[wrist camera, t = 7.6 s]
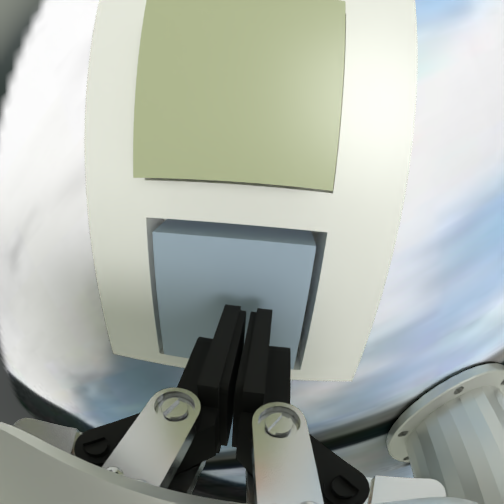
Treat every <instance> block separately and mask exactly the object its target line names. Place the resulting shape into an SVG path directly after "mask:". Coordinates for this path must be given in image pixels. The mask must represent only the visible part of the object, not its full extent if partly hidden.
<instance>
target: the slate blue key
mask: <svg viewBox="0 0 504 504" xmlns="http://www.w3.org/2000/svg"><path fill="white" fill-rule="evenodd" d="M152 235H153V252H154V266H155V279H156V290H157V300H158V310H159V319H160V327H161V335H162V342H163V349H164V354H166V355H172V356H178V357H184V358H190V355H191V353H192V350H193V348H194V346H195V343H196V341H197V339H198V337H205V338H212V339H213V337H214V335H215V332H216V329H217V326H218V323H219V320H220V318H221V315H222V312H223V309H224V306H225V304H227V305H235V306H241V310H243V311H246V324H245V338H246V333H247V328H248V323H249V318H250V313H251V311H252V312H257V308H262V309H271V310H273V311H272V322H271V333H270V344H269V346H277V347H288V348H290V349H291V369H294V364H295V360H296V355H297V350H298V345H299V340H300V336H301V330H302V325H303V320H304V315H305V310H306V304H307V299H308V293H309V287H310V282H311V276H312V270H313V264H314V257H315V251H316V244H315V241H314V238H313V235H312V232H311V231H309V230H298V229H288V228H277V227H266V226H255V225H243V224H231V223H218V222H205V221H192V220H178V219H166V220H165V221H164V222H163V223H162V224H161V225H160V226H158V227H157V228H156V229H155V230H154V231H153V232H152ZM245 338H244V342H245Z"/></svg>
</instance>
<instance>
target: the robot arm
mask: <svg viewBox="0 0 504 504" xmlns="http://www.w3.org/2000/svg"><path fill="white" fill-rule="evenodd" d="M272 311H273V310H271V309H262V308H257V312H252V311H251V313H250V318H249V323H248V328H247V333H246V338H245V324H246V311H243V310H241V306H235V305H227V304H225V306H224V309H223V312H222V315H221V318H220V320H219V323H218V326H217V329H216V332H215V335H214V337H213V339H212V338H205V337H198V339H197V341H196V343H195V346H194V348H193V350H192V353H191V355H190V358H189V360H188V362H187V365H186V367H185V370H184V372H183V374H182V377H181V379H180V382H179V384H178V386H177V388H167V389H163V390H161V391H159V392H157V393H156V394H155V395H154V396H153V397H152V398H151V399H150V400H149V402H148V403H147V405H146V406H145V407H144V409H143V410H142V412H141V413H139V414H136V415H133V416H130V417H127V418H124V419H121V420H119V421H116V422H113V423H109V424H106V425H103V426H100V427H97V428H94V429H90V430H88V431H86V432H84V433H81V432H79V431H78V429H75V428H70V427H65V426H60V425H56V424H52V423H47V422H43V421H39V420H36V419H32V418H23V419H20V420H19V421H17V422H16V423H15V424H14V426H11V425H8V424H5V423H2V422H0V504H245V503H237V502H229V501H223V500H216V499H211V498H205V497H200V496H195V495H191V493H192V491H193V489H194V487H195V485H196V483H197V480H198V478H199V476H200V474H201V472H202V470H203V468H204V465H205V461H206V460H207V459H210V458H211V457H213V456H215V455H216V453H219V452H220V447H221V445H224V446H227V444H228V439H229V434H230V429H231V424H232V419H233V434H232V447H237V451H236V459H237V460H238V461H239V462H240V463H241V464H242V465H243V466H244V467H245V468H246V493H247V504H504V365H502V364H498V363H490V364H484V365H480V366H476V367H473V368H471V369H468V370H465V371H463V372H461V373H459V374H457V375H455V376H453V377H451V378H449V379H448V380H446V381H444V382H443V383H441V384H439V385H438V386H436V387H435V388H433V389H432V390H430V391H429V392H427V393H426V394H424V395H423V396H422V397H421V398H419V399H418V400H417V401H416V402H414V403H413V404H412V405H411V406H410V407H409V408H408V409H407V410H406V411H405V412H404V413H402V415H401V416H400V417H399V418H398V419H397V420H396V422H395V423H394V424H393V426H392V427H391V429H390V431H389V432H388V436H387V439H386V442H387V448H388V452H389V455H390V456H391V457H392V458H393V459H395V460H398V461H401V462H410V464H411V468H412V472H413V476H414V478H402V477H388V476H378V475H375V476H374V478H371V477H365V476H364V475H363V474H362V473H361V472H360V471H358V470H357V469H355V468H354V467H352V466H351V465H350V464H348V463H347V462H345V461H344V460H343V459H341V458H340V457H339V456H337V455H336V454H335V453H333V452H332V451H331V450H329V449H328V448H327V447H325V446H324V445H323V444H321V443H320V442H319V441H318V440H316V439H315V438H314V437H312V436H311V435H310V434H309V431H308V427H307V422H306V419H305V416H304V414H303V413H302V412H301V411H300V410H299V409H298V408H296V407H295V406H293V405H290V374H291V349H290V348H288V347H277V346H269V344H270V333H271V322H272ZM244 338H245V342H244Z"/></svg>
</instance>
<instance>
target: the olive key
mask: <svg viewBox="0 0 504 504" xmlns="http://www.w3.org/2000/svg"><path fill="white" fill-rule="evenodd" d="M345 10H346V2H345V1H341V0H146V6H145V12H144V18H143V25H142V32H141V39H140V47H139V56H138V66H137V77H136V90H135V106H134V131H133V178H172V179H197V180H216V181H233V182H247V183H260V184H271V185H282V186H293V187H302V188H312V189H320V190H329V191H333V185H334V177H335V168H336V159H337V150H338V140H339V130H340V118H341V106H342V92H343V76H344V55H345Z"/></svg>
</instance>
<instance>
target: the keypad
mask: <svg viewBox="0 0 504 504" xmlns="http://www.w3.org/2000/svg"><path fill="white" fill-rule="evenodd" d="M341 1H345V2H346V10H345V55H344V76H343V92H342V106H341V118H340V130H339V140H338V150H337V159H336V168H335V177H334V185H333V191H329V190H320V189H312V188H302V187H293V186H282V185H271V184H260V183H247V182H233V181H216V180H197V179H172V178H133V131H134V106H135V90H136V77H137V66H138V56H139V47H140V39H141V32H142V25H143V18H144V12H145V6H146V0H99V4H98V9H97V14H96V19H95V24H94V30H93V36H92V43H91V50H90V58H89V67H88V77H87V89H86V105H85V179H86V196H87V209H88V220H89V229H90V238H91V246H92V253H93V260H94V266H95V273H96V278H97V284H98V290H99V295H100V300H101V305H102V310H103V314H104V319H105V323H106V327H107V331H108V336H109V340H110V343H111V347H112V351H113V354H117V355H121V356H126V357H130V358H135V359H139V360H144V361H149V362H154V363H159V364H165V365H170V366H176V367H182V368H185V367H186V365H187V362H188V360H189V358H184V357H178V356H172V355H166V354H164V349H163V342H162V335H161V327H160V319H159V310H158V300H157V290H156V279H155V266H154V252H153V235H152V232H153V231H154V230H155V229H156V228H157V227H158V226H160V225H161V224H162V223H163V222H164V221H165V220H166V219H178V220H192V221H205V222H218V223H231V224H243V225H255V226H266V227H277V228H288V229H298V230H309V231H311V232H312V235H313V238H314V241H315V244H316V251H315V257H314V264H313V270H312V276H311V282H310V287H309V293H308V299H307V304H306V310H305V315H304V320H303V325H302V330H301V336H300V340H299V345H298V350H297V355H296V360H295V364H294V369H291V374H290V380H308V381H352V380H353V378H354V375H355V373H356V370H357V367H358V365H359V362H360V359H361V357H362V354H363V351H364V348H365V346H366V343H367V340H368V337H369V334H370V331H371V328H372V325H373V322H374V319H375V316H376V313H377V309H378V306H379V303H380V300H381V296H382V293H383V289H384V286H385V282H386V278H387V275H388V271H389V267H390V263H391V259H392V255H393V251H394V247H395V242H396V238H397V233H398V229H399V224H400V219H401V214H402V209H403V204H404V198H405V192H406V186H407V180H408V174H409V167H410V159H411V152H412V143H413V134H414V123H415V110H416V94H417V22H416V7H415V0H341Z"/></svg>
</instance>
